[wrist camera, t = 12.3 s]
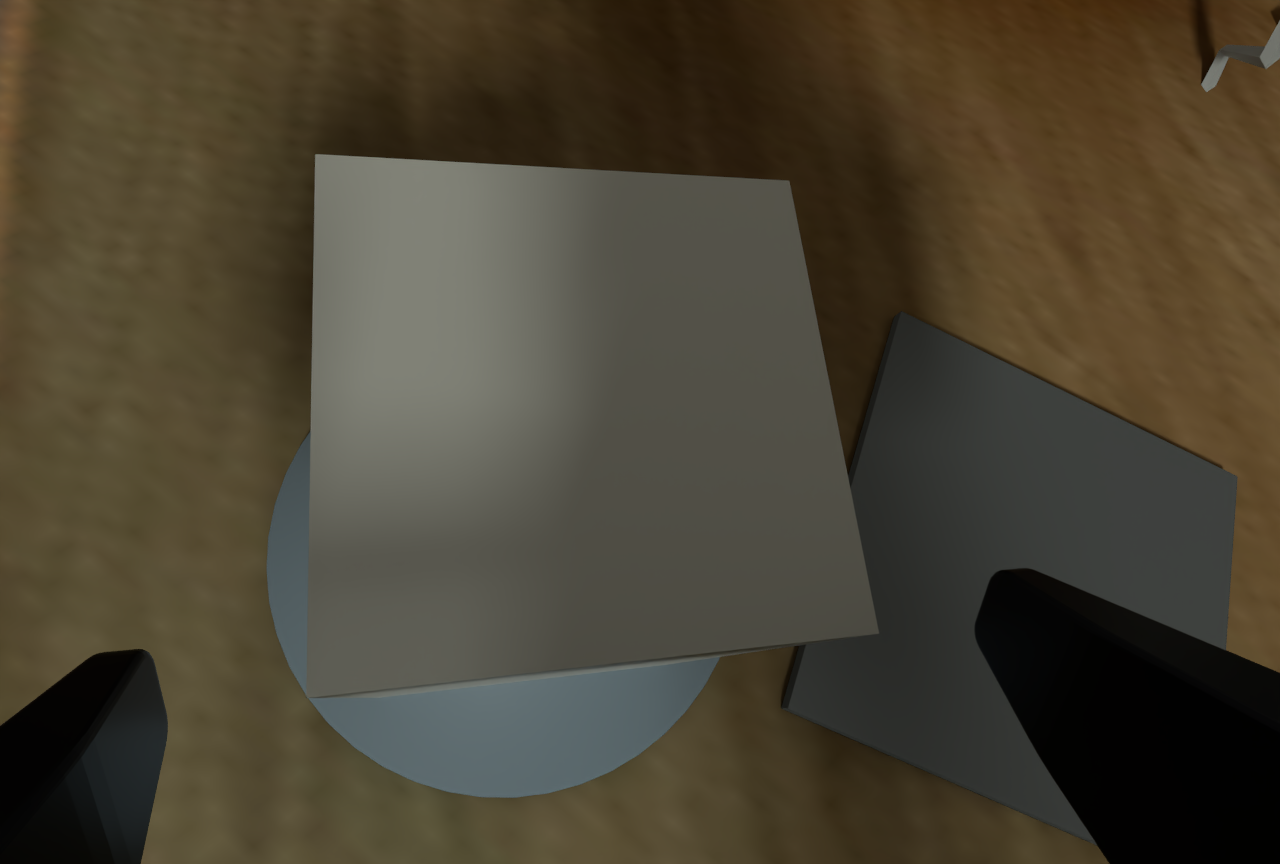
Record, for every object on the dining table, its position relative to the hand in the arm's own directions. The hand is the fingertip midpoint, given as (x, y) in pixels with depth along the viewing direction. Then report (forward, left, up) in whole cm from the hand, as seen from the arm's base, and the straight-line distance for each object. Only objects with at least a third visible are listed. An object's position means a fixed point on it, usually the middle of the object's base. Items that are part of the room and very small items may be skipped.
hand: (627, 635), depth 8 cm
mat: (+6, -13, -10) cm, 18 cm away
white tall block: (+3, +1, -10) cm, 10 cm away
